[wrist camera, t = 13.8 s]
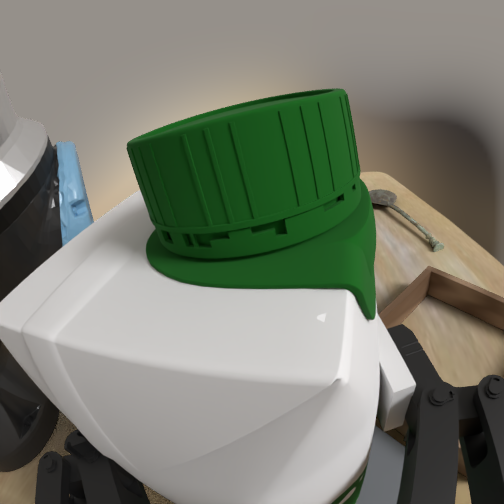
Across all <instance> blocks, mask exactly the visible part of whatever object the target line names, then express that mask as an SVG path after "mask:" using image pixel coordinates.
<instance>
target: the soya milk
mask: <svg viewBox="0 0 504 504" xmlns="http://www.w3.org/2000/svg"><path fill="white" fill-rule="evenodd" d="M127 151H128V154H129V158H130V160H131V164H132V167H133V170H134V173H135V175H136V179H137V182H138V185H139V187H140V191H137V192H135V193H134V194H132V195H131V196H129V197H128V198H127V199H125V200H124V201H122V202H121V203H120V204H118V205H117V206H116V207H114V208H113V209H111V210H110V211H108V212H107V213H106V214H104V215H103V216H102V217H100V218H99V219H98V220H96V221H95V222H94V223H92V224H91V225H90V226H88V227H87V228H86V229H85V230H83V231H82V232H81V233H79V234H78V235H77V236H76V237H74V238H73V239H72V240H71V241H69V242H68V243H67V244H66V245H64V246H63V247H62V248H61V249H60V250H58V251H57V252H56V253H55V254H53V255H52V256H51V257H50V258H49V259H48V260H46V261H45V262H44V263H43V264H42V265H41V266H39V267H38V268H37V269H36V270H35V271H34V272H33V273H31V274H30V275H29V276H28V277H27V278H26V279H25V280H24V281H22V282H21V283H20V284H19V285H18V286H17V287H16V288H15V289H14V290H13V291H12V292H11V293H9V294H8V295H7V296H6V297H5V298H4V299H3V300H2V301H1V302H0V339H1V341H2V342H3V344H4V345H5V346H6V348H7V349H8V350H9V352H10V353H11V354H12V356H13V357H14V358H15V360H16V361H17V362H18V363H19V365H20V366H21V367H22V368H23V370H24V371H25V372H26V373H27V374H28V376H29V377H30V378H31V379H32V380H33V382H34V383H35V384H36V385H37V386H38V387H39V388H40V390H41V391H42V392H43V393H44V394H45V395H46V396H47V397H48V398H49V399H50V401H51V402H52V403H53V404H54V405H55V406H56V407H57V408H58V409H59V410H60V411H61V412H62V413H63V414H64V415H65V416H66V417H67V418H68V419H69V420H70V421H71V422H72V423H73V424H74V425H75V426H76V427H77V429H78V430H79V431H80V432H81V433H82V434H83V435H84V436H85V438H86V439H87V440H88V441H89V442H90V443H91V444H92V445H93V446H94V447H95V448H96V449H97V450H98V451H100V452H101V453H102V454H103V455H104V456H106V457H108V458H110V459H113V460H114V461H115V462H116V463H117V464H119V465H120V466H121V467H122V468H124V469H125V470H126V471H127V472H129V473H130V474H131V475H133V476H134V477H135V478H136V479H138V480H139V481H140V482H142V483H143V484H145V485H146V486H148V487H149V488H151V489H152V490H154V491H155V492H157V493H159V494H160V495H162V496H163V497H165V498H167V499H168V500H170V501H172V502H173V503H175V504H356V502H357V499H358V497H359V495H360V491H361V488H362V485H363V482H364V478H365V474H366V470H367V465H368V460H369V455H370V450H371V445H372V439H373V433H374V427H375V421H376V414H377V407H378V399H379V386H380V368H379V345H378V319H377V305H376V291H375V276H374V260H375V251H376V226H375V218H374V211H373V206H372V202H371V198H370V195H369V192H368V189H367V187H366V185H365V184H364V182H363V181H362V180H361V179H360V165H359V160H358V153H357V146H356V140H355V134H354V128H353V122H352V116H351V111H350V105H349V100H348V95H347V94H346V92H345V90H343V89H322V90H313V91H305V92H298V93H292V94H285V95H279V96H275V97H268V98H264V99H259V100H254V101H250V102H245V103H241V104H237V105H232V106H229V107H225V108H221V109H217V110H213V111H210V112H207V113H203V114H200V115H196V116H193V117H190V118H187V119H184V120H181V121H178V122H175V123H172V124H169V125H166V126H163V127H161V128H158V129H155V130H153V131H151V132H148V133H146V134H143V135H141V136H139V137H136V138H134V139H132V140H131V141H129V142H128V143H127Z"/></svg>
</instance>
